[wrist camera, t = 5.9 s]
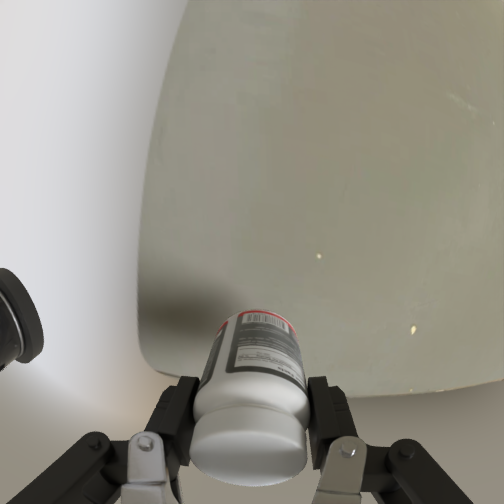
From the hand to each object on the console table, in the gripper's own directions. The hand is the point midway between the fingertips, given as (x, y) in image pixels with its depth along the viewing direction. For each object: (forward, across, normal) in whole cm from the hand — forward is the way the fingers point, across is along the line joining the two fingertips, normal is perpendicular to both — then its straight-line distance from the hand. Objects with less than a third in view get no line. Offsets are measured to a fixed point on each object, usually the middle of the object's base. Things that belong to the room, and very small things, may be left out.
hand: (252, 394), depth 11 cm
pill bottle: (+5, 0, 0) cm, 5 cm away
